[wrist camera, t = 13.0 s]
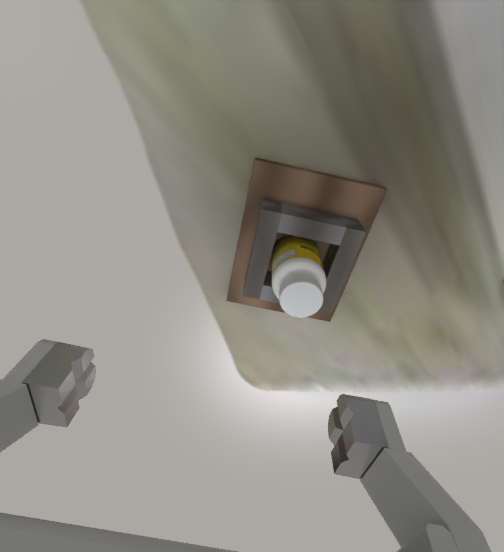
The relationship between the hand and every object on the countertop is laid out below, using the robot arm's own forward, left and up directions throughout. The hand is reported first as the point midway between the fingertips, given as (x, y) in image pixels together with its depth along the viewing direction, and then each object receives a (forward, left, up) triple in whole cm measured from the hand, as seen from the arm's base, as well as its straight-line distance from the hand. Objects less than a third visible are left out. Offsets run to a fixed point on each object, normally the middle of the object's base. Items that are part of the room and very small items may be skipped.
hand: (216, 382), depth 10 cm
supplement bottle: (-6, +7, -27) cm, 28 cm away
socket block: (-6, +7, -27) cm, 29 cm away
